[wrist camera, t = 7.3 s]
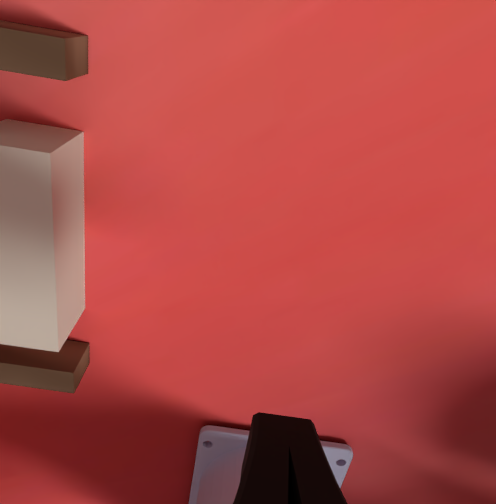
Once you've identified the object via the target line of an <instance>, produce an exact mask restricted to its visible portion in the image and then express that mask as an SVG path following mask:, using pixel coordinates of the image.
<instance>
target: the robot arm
mask: <svg viewBox="0 0 496 504" xmlns="http://www.w3.org/2000/svg"><path fill="white" fill-rule="evenodd" d="M352 458H353V451H352V448H351V447H350V446H349V445H346V444H341V443H334V442H327V441H320V440H319V437H318V434H317V432H316V429H315V426H314V424H313V422H312V421H311V420H309V419H302V418H295V417H288V416H281V415H273V414H266V413H257V414H255V415H253V418H252V423H251V427H250V431H248V430H241V429H234V428H227V427H219V426H212V425H207V426H203V427H202V428H201V430H200V434H199V440H198V447H197V453H196V459H195V466H194V472H193V478H192V485H191V491H190V498H189V504H347V502H346V500H345V498H344V496H343V494H342V492H341V490H340V488H341V485H342V483H343V480H344V478H345V475H346V473H347V470H348V468H349V465H350V463H351V460H352Z"/></svg>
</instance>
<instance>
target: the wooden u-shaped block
mask: <svg viewBox="0 0 496 504" xmlns="http://www.w3.org/2000/svg"><path fill="white" fill-rule="evenodd" d="M0 70H4V71H10V72H16V73H22V74H28V75H33V76H39V77H45V78H51V79H57V80H63V81H67V80H70V79H73V78H76V77H79V76H82V75H85V74H88V36H87V35H82V34H76V33H70V32H65V31H59V30H53V29H47V28H42V27H36V26H30V25H25V24H19V23H13V22H7V21H2V20H0ZM88 365H89V343H85V342H78V341H71V340H66V341H65V343H64V344H63V346H62V347H61V349H60V351H59V352H53V351H46V350H39V349H32V348H25V347H18V346H11V345H4V344H0V383H4V384H11V385H18V386H25V387H32V388H39V389H46V390H54V391H61V392H68V393H74V392H75V390H76V388H77V386H78V384H79V382H80V380H81V378H82V376H83V374H84V372H85V370H86V369H87V367H88Z"/></svg>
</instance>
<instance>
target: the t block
mask: <svg viewBox="0 0 496 504" xmlns="http://www.w3.org/2000/svg"><path fill="white" fill-rule="evenodd" d="M84 309H85V240H84V131H78V130H72V129H66V128H60V127H53V126H47V125H41V124H35V123H29V122H23V121H17V120H11V119H5V120H2V121H0V344H4V345H11V346H18V347H25V348H32V349H39V350H46V351H53V352H59V351H60V349H61V347H62V346H63V344H64V343H65V341H66V339H67V338H68V336H69V334H70V333H71V331H72V329H73V328H74V326H75V324H76V323H77V321H78V319H79V318H80V316H81V314H82V313H83V311H84Z"/></svg>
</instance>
